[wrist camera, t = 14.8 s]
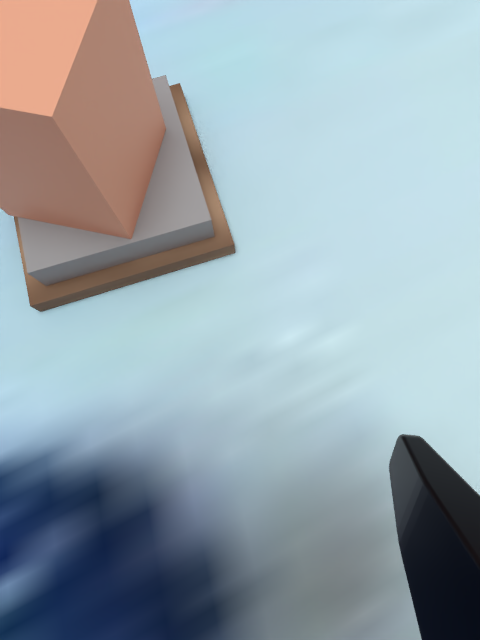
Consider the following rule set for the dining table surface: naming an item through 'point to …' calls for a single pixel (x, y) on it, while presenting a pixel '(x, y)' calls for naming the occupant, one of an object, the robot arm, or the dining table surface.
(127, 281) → the tower base block
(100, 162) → the terracotta block
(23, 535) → the dining table surface
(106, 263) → the grey square slab
